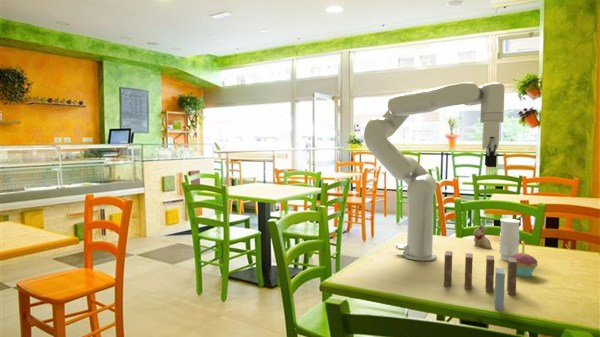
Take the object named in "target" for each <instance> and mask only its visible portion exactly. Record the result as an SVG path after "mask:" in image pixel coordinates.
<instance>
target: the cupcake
mask: <svg viewBox="0 0 600 337" xmlns="http://www.w3.org/2000/svg"><path fill="white" fill-rule="evenodd" d="M525 245H526V244H525V241H524V240H523V241H522V245H521V246H522V248H521V251H522V252H521V253H519V254H514V255H513V256H511V258H516V261H517V276H519V277H523V278H528V277H532V274H533V272H534V270H535V268H537V267H538V259H536V258H535V257H534V256H532V255H530V254H528V253H525V249H526V248H525Z"/></svg>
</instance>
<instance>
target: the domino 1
mask: <svg viewBox="0 0 600 337" xmlns="http://www.w3.org/2000/svg"><path fill="white" fill-rule="evenodd" d="M443 267H444V268H443V270H444V271H443V272H444V273H443V276H444V277H443V286H444V287H447V288H448V287H449V288H452V287H451V285H452V282H453V280H452V275H453V274H452V273H453V269H452V268H453V251H451V250H445V252H444V266H443Z"/></svg>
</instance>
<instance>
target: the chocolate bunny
mask: <svg viewBox="0 0 600 337" xmlns="http://www.w3.org/2000/svg"><path fill="white" fill-rule="evenodd" d="M487 229H488V228H487V227H486V226H485V225H484V224H483V223H482V224H480V225H479V226H478V227H477V228H475V229H474V230H473V232H472V234H473V236H474V239H473V242H474V246H475V247H477V248H481V249H486V250H487V249H488V250H490V249H492V244H491V241H490V239H489V238H488V237H486V236H485V235H486V231H487Z"/></svg>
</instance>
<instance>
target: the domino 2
mask: <svg viewBox="0 0 600 337" xmlns="http://www.w3.org/2000/svg"><path fill="white" fill-rule="evenodd" d="M464 259H465V264H464V266H465V267H464V290H470V291H471V290H473V289H472V287H473V286H472V285H473V261H474V260H473V259H474V258H473V253H470V252H465V258H464Z"/></svg>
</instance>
